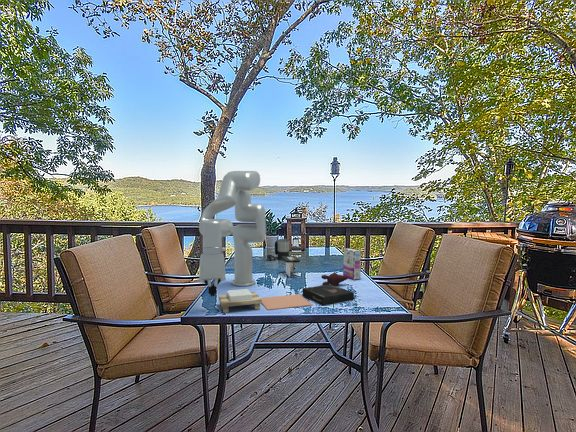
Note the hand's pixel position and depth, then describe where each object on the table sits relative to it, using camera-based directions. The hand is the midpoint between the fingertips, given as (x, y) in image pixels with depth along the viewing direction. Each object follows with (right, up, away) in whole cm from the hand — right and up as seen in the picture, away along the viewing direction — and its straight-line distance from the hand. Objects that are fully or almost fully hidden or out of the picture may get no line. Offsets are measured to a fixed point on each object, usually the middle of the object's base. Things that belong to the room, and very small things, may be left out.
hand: (212, 295), depth 136 cm
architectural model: (+33, -3, +63) cm, 71 cm away
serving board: (+11, -6, +4) cm, 13 cm away
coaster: (+11, -2, +4) cm, 11 cm away
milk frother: (+24, 0, +111) cm, 113 cm away
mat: (+29, -6, +11) cm, 32 cm away
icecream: (+56, -4, +39) cm, 69 cm away
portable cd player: (+49, -6, +17) cm, 53 cm away
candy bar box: (+68, -3, +56) cm, 88 cm away
